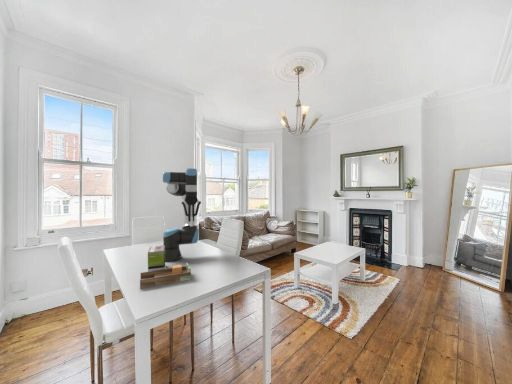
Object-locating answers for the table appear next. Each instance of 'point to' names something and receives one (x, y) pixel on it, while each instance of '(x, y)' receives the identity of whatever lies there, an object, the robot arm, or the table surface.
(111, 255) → the table surface
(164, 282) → the track
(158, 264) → the tea box
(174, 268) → the block
